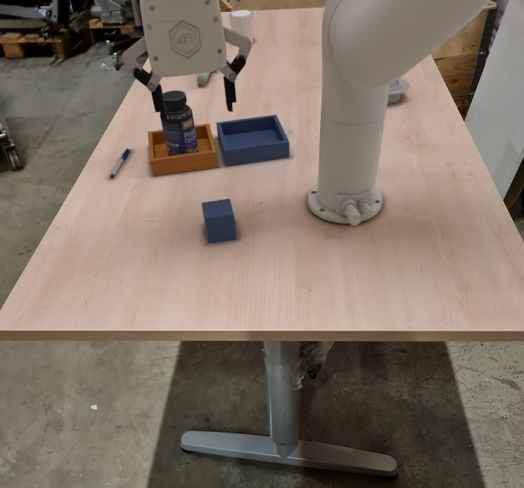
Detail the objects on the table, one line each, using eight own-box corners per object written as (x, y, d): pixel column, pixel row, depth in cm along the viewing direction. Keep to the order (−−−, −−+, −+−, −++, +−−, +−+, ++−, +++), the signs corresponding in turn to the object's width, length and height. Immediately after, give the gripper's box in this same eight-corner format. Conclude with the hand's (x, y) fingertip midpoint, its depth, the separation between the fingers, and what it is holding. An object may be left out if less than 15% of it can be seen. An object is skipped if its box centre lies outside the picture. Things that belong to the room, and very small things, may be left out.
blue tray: (289, 157, 94) (289, 141, 91) (225, 166, 93) (223, 150, 90) (276, 129, 101) (276, 114, 99) (217, 137, 100) (216, 122, 98)
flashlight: (214, 80, 116) (221, 49, 129) (197, 71, 114) (206, 41, 127) (209, 92, 118) (217, 61, 131) (192, 84, 117) (202, 53, 129)
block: (236, 238, 78) (233, 214, 74) (208, 243, 77) (204, 218, 74) (232, 222, 81) (229, 198, 77) (205, 226, 80) (201, 202, 77)
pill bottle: (193, 162, 93) (183, 103, 85) (163, 160, 94) (151, 102, 86) (202, 146, 97) (193, 88, 88) (173, 145, 98) (162, 87, 89)
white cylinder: (227, 40, 138) (225, 12, 133) (249, 36, 140) (247, 7, 134) (237, 47, 134) (234, 18, 129) (259, 43, 136) (257, 13, 130)
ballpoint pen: (126, 151, 98) (125, 147, 98) (130, 151, 98) (129, 147, 98) (110, 179, 92) (108, 174, 91) (114, 179, 92) (113, 174, 91)
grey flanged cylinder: (385, 47, 95) (427, 38, 97) (359, 33, 101) (400, 24, 103) (376, 111, 105) (416, 101, 107) (354, 94, 111) (391, 85, 113)
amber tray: (218, 167, 93) (216, 151, 90) (153, 176, 92) (149, 160, 89) (211, 138, 100) (209, 123, 98) (151, 146, 99) (147, 131, 97)
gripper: (97, -20, 54) (137, 131, 67) (249, -36, 55) (259, 115, 68) (102, -35, 59) (138, 108, 72) (241, -50, 60) (252, 94, 73)
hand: (197, 112), depth 70 cm, fingers open, 9 cm apart
